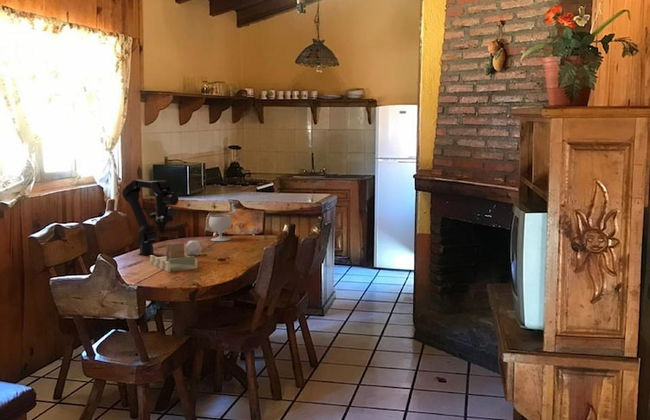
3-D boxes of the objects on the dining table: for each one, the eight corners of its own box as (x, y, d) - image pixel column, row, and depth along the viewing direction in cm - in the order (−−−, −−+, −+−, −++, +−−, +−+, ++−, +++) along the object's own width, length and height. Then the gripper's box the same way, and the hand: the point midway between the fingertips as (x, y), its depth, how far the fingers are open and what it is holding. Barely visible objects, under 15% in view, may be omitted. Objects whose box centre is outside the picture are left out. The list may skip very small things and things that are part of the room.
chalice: (221, 242, 402) (221, 218, 400) (204, 240, 410) (203, 216, 408) (236, 239, 414) (236, 215, 412) (219, 237, 421) (219, 213, 420)
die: (193, 258, 359) (203, 243, 361) (180, 250, 360) (190, 235, 362) (196, 260, 367) (206, 246, 369) (183, 252, 367) (193, 238, 369)
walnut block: (166, 260, 333) (165, 243, 332) (179, 259, 337) (179, 241, 336) (171, 262, 329) (170, 244, 327) (184, 261, 332) (183, 243, 331)
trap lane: (150, 264, 341) (149, 252, 340) (178, 260, 350) (178, 249, 349) (167, 272, 322) (167, 259, 321) (197, 268, 331) (197, 256, 330)
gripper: (182, 204, 352) (183, 233, 354) (168, 201, 367) (169, 229, 369) (162, 206, 346) (163, 235, 348) (149, 202, 361) (150, 231, 363)
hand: (162, 233), depth 357 cm, fingers closed
